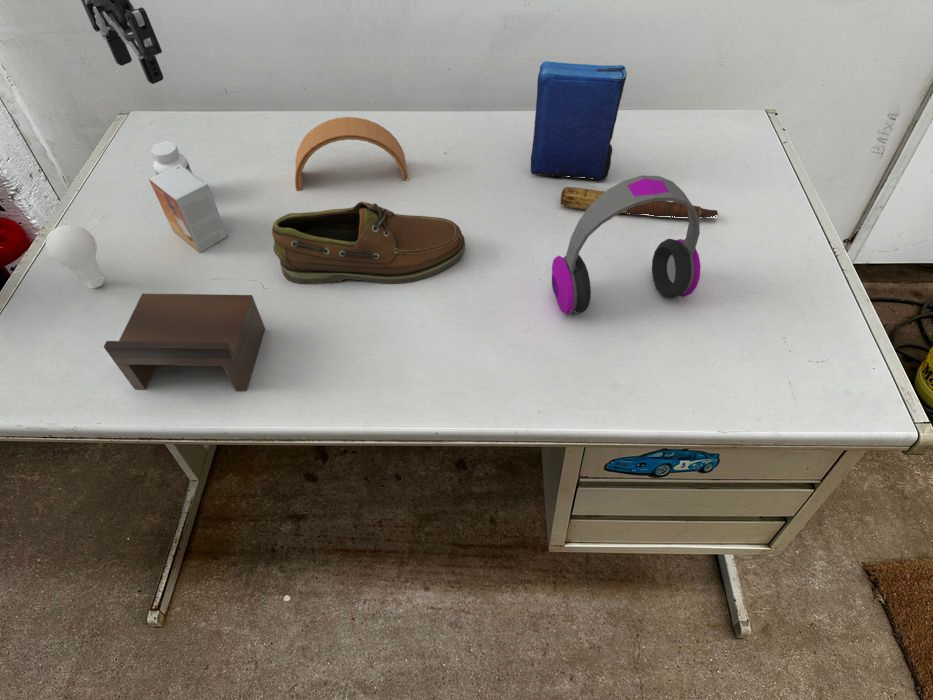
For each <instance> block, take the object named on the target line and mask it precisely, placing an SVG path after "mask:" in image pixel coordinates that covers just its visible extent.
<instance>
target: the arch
mask: <svg viewBox="0 0 933 700" xmlns="http://www.w3.org/2000/svg"><path fill="white" fill-rule="evenodd" d="M347 140H350V141H351V140H352V141H353V140H354V141H361V142H366V143H369V144H372V145H375V146H377V147H379V148H381V149H382V150H384V151H385V152H386V153H388V154H389V155H390V157H392V158H393V160H394V161H395V162H396V164H397V166H398V167H399V170H400V172H401V178H402V180H403V179H408V180H409V175H408V169H407V163H406V156H405V152H404V150H403V148H402V145H401V144H400V142H399V141H398V139H397V138H396V137H395V136H394V135H393V134H392V133H391V132H390V131H389V130H388V129H386V128H385V127H384V126H382V125H380V124H379V123H377V122H374V121H372V120H369V119H366V118H362V117H356V116H343V117H335V118H332V119H329V120H326V121H324V122H321V123H320V124H318V125H316V126H314V127H313V128H312V129H311V130H310V131H309V132H308V133H306V135H305V136H304V137H303V139H302V140H301V141H300V143H299V146H298V149H297V151H296V156H295V168H294V170H295V171H294V182H295V183H294V184H295V190H296V192H299V191H302V190H303V187H304V173H303V172H304V171H303V170H304V168H305V165H306V164H307V162H308V161H309V159H310V158H311V157H312V156H313V155H314V153H316V152H317V151H318V150H320V149H321V148H323V147H325V146H327V145H329V144H332V143H336V142H339V141H340V142H341V141H347Z"/></svg>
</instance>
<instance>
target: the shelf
mask: <svg viewBox="0 0 933 700" xmlns="http://www.w3.org/2000/svg"><path fill="white" fill-rule="evenodd" d="M265 332H266V327H265V324H264V321H263V319H262V317H261V314H260V311H259V309H258V306H257V304H256V301H255V298H254V296H253V295H252V294H213V293H211V294H209V293H208V294H204V293H203V294H202V293H141V295H140V297H139V299H138V301H137V303H136V305H135V307H134V309H133V311H132V313H131V315H130V317H129V319H128V321H127V324H126V326H125V328H124V330H123V331H122V333H121V335H120V338H119V339H118V340H106V341H105V343H104V344H103V348H104V350H105V351H106V352H107V354H108V355H109V357H110V358H111V359H112V361H113V362H114V364H116V366H117V368H118V369H119V371H121V373H122V375H123V376H124V377H125V379H126V380H127V381H128V382H129V384H130V386H131V387H132V388H133V389H134V391H135V390H139V391H141V390H142V391H144V390H145V391H146V390H147V388H148V386H149V383H150V381H151V378H152V376H153V374H154V372H155V369H156V367H157V366H194V367H195V366H197V367H198V366H199V367H201V366H202V367H205V366H206V367H208V366H209V367H222V368H223V369H224V371H225V373H226V375H227V376H228V378H229V381H230V383H231V385H232V387H233V389H234V391H235V392H247V391H248V388H249V385H250V381H251V378H252V374H253V371H254V368H255V365H256V362H257V358H258V355H259V352H260V349H261V345H262V342H263V339H264V336H265V335H264V334H265Z"/></svg>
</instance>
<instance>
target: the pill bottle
mask: <svg viewBox="0 0 933 700" xmlns="http://www.w3.org/2000/svg"><path fill="white" fill-rule="evenodd" d="M150 152H151V155H152V157H153V159H154V161H153V170H154V172H155V175H158V174H160V173H162V172H164V171H166V170H168V169H170V168H173V167H175V166H177V165H179V164H181V165H182V166H184V167H185V168H186V169H187V170H188V171H190V172H191V173H192V174H194V173H193V171H192V168H191V166H190V163H189V161H188V159H187V157H186V156H185V155H184V154H182V153H180V150H179V149H178V147H177V145H176V143H175V142H173V141H161V142H157V143H156V144H153V146H152V147H151V149H150Z"/></svg>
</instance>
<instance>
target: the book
mask: <svg viewBox="0 0 933 700" xmlns="http://www.w3.org/2000/svg"><path fill="white" fill-rule="evenodd" d="M627 75H628V73H627V69H626V66H624V65H623V64H615V65H614V64H613V65H611V64H610V65H607V64H606V65H603V64H600V65H599V64H587V63H586V64H584V63H569V62H558V61H548V60H547V61H543V62H542V63H541V64H540V66H539V72H538V76H537V83H536V84H537V86H536V87H537V88H536V90H537V91H536V102H535V115H534V126H533V127H534V128H533V138H532V147H531V154H530V173H531V174H533V175H538V174H539V176H543V175H544V176H545V175H546V176H549V175H550V176H549V177H553V176H570V177H585V178H593V179H604V180H606V179H607V178H608V176H609V172H610V169H611V165H612V155H613V146H612V144H611V141H612V139H613V135H614V132H615V131H614V130H615V126H616V124H617V123H616V122H617V118H618V114H619V108H620V105H621V101H622V97H623V93H624V87H625V84H626V79H627ZM552 175H553V176H552ZM606 177H607V178H606ZM605 178H606V179H605ZM593 179H592V180H593Z"/></svg>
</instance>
